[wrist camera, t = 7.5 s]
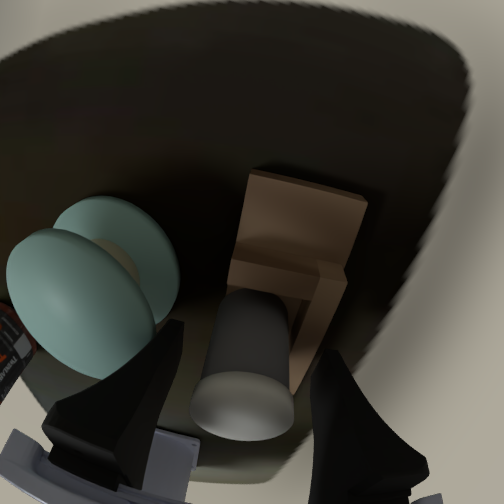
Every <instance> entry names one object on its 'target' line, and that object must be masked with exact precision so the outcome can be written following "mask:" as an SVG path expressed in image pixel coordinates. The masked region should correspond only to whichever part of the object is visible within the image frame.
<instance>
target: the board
mask: <svg viewBox="0 0 504 504" xmlns="http://www.w3.org/2000/svg"><path fill="white" fill-rule="evenodd" d="M367 205H368V202H367V201H366V200H365V199H364V197H363V196H361V195H358V194H354V193H351V192H347V191H343V190H340V189H336V188H332V187H328V186H324V185H320V184H317V183H313V182H309V181H304V180H300V179H296V178H292V177H288V176H283V175H279V174H274V173H270V172H265V171H261V170H256V169H251V172H250V175H249V180H248V184H247V189H246V194H245V199H244V204H243V209H242V214H241V219H240V224H239V229H238V234H237V240H236V244H235V248H234V251H233V255H232V259H231V264H230V269H229V274H228V280H227V284H228V286H227V292H226V296H227V295H228V294H230V293H231V292H233V291H235V290H238V289H242V288H249V289H254V290H259V291H264V292H269V293H273V294H275V295H276V296H278V297H279V298H280V299H281V300H282V301H283V303H284V304H285V306H286V308H287V311H288V332H289V383H290V392H291V394H292V395H294V394H295V392H296V390H297V388H298V386H299V384H300V383H301V381H302V379H303V377H304V375H305V373H306V371H307V369H308V367H309V365H310V363H311V361H312V359H313V357H314V355H315V353H316V351H317V349H318V347H319V345H320V343H321V341H322V339H323V337H324V335H325V333H326V331H327V328H328V326H329V324H330V322H331V320H332V318H333V315H334V313H335V311H336V309H337V307H338V304H339V302H340V300H341V297H342V295H343V293H344V291H345V288H346V286H347V284H348V282H347V279H346V276H345V273H344V268H345V265H346V263H347V260H348V257H349V255H350V252H351V250H352V247H353V244H354V241H355V239H356V236H357V233H358V231H359V228H360V225H361V222H362V219H363V216H364V214H365V211H366V208H367Z"/></svg>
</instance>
